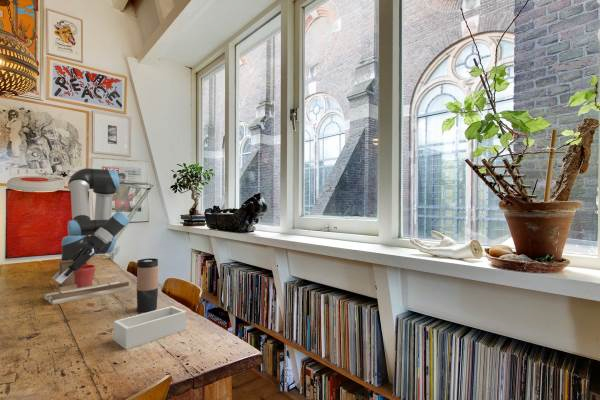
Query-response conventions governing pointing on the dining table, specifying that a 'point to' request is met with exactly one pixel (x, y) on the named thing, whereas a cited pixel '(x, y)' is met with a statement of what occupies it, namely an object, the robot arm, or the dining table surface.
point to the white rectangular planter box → (149, 326)
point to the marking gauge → (69, 281)
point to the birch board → (85, 292)
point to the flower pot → (84, 276)
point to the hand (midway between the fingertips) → (56, 280)
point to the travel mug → (147, 285)
